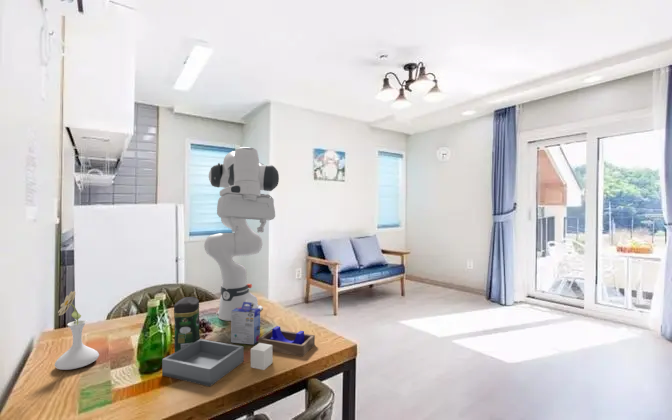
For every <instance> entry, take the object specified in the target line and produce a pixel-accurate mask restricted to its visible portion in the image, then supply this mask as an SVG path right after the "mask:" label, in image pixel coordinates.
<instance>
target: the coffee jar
mask: <svg viewBox="0 0 672 420" xmlns="http://www.w3.org/2000/svg"><path fill="white" fill-rule="evenodd" d="M173 316H174V353H175V352H177V351H179V350H180V349H182V348H184V347H186V346H188V345H190V344H192V343H194V342H196V341H197V340H199V339H201V338H200V334H201V333H200V300H199V299H198V298H197V297H195V296H186V297H185V296H184V297H182V298H181V299H179V300H177V302H175V304H174V305H173Z"/></svg>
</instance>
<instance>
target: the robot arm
mask: <svg viewBox="0 0 672 420" xmlns="http://www.w3.org/2000/svg"><path fill="white" fill-rule="evenodd" d="M279 177H280V176H279V171H278V169H277V168H276V167H275V166H274V165H272V164H263V163H261V162H260V160H259V153H258V150H257V149H256V148H253V147H248V146H247V147H246V146H241V147H237V148H235V150H234V151H230V152H227V154H225V156H224V157H223V162H222V163H220V162H218V163H217V164H214V165H213V166H212V167H210V170H209V172H208V180H209V182H210V185H211V186H212V187H214V188H222V189H221V190H220V191H219V196H220V197H219V198H218V200H217V206H216V215H217V216H218V217H219V218H220V221H221V223H222V225H224V226H225V227H226V228H228V229H231V232H219V233H215V234H210V235H209V236H207V237H206V239H205V241H204V245H203V246H204V247H203V248H204V251H205V252H206V254H207V255H208V256H209V257H210V258H212V259H214V261H215V262H216V263H217V265H218V266H219V269H220V273H221V275H220V276H221V286H220V295H221V296H220V297H219V304H218V305H219V306H218V311H217V317H218V319H220V320H222V321H229V322H231V311H232V310H234V309H236V308H238V307H240V308H242V305H243V302H250V303H252V305H251V308H260V311H262V310H263V309H264V308H263V306H262V305H260V304H258V298H257V296H256V295H254V294H252V292H250V289H252V288H253V285H252V283H247V269H246V267H245V266H244V265H243V264H240V263H238V262H235V260H233V258H234V257H244V256H245V257H246V256H252V255H257V254H258V253H260V252H261V250H262V247H263V239H262V237H261V235H260V234H261V233H264V230H265V229H264V227H265V225H266V224H267V221H271V220H275V217H276V211H275V209H276V208H275V204H274V203H275V202H274V201H275V199H274V198H273V197H272V196H271V195H270V194H265V193H261V191H265V192H272V191H274V190H275V188H277V187H278V185H279V180H280V178H279ZM247 220H254V221H255V220H259V224H260V225H259V226H258V227H257V228H256V229H257V232H255V231H254V230H253V229H252V228H251V227H250V226H249V224H248V222H247ZM258 233H260V234H258ZM244 306H250V305H249V304H245V305H244Z"/></svg>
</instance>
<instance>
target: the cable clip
mask: <svg viewBox="0 0 672 420" xmlns="http://www.w3.org/2000/svg"><path fill="white" fill-rule="evenodd" d="M271 330H272V337H271V338H270V340H276V341H282V342H288V343H294V344H300V345H302V344H303V343H304V334H305V331H304V330H300V331H298V332H296V338H295V340H294V341H290V340H288V339H286V338H285V337H284V336H283V334H282V333H281V330H282V329H281V326H280V325H277V326H275V327H273V328H272V329H271Z"/></svg>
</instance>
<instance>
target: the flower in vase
mask: <svg viewBox="0 0 672 420" xmlns="http://www.w3.org/2000/svg"><path fill="white" fill-rule="evenodd" d="M75 298H76V291H75V290H73V291H72V290H71V291H70V293H69V294H68V295H67V294H66V296H65V298H64V301H63V302H62V303H61V304H60V307H61V308H59V310H58V311H57V314H58V316H63V315H64V314H65V313H66V312H67V311H68V310H69V308H70V307H71V306H72V309H74V310H73V311H72V313H71V315H70V316H71V317H72V319H74V320H73V321H70V322H68V323H67V327H68V328H70V330H71V334H72V345H71V347H70V348H68V349H67V350H66V351H65V352H63V354H62V355H61V356H59V357H58V358H57V360H55V362H54V367H55V368H56V369H57V370H61V371H62V370H66V371H67V370H75V369H79V368H83V367H85V366H88V365H91V364H92V363H93V362H95V361H97V360H98V359H99V357H100V354H99V351H98V350H96V349H94V348H92V347H90V346H87V345H85V344H84V343H83V340H82V338H83V337H82V335H83V334H82V333H83V329H84V326H85V325H86V323H88V322H87V319H86V320H85V319H81V317H82V315H81V314H80V313H79V312H78V310H77V308H76V307H75V305H74V304H73V302H74V299H75Z"/></svg>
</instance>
